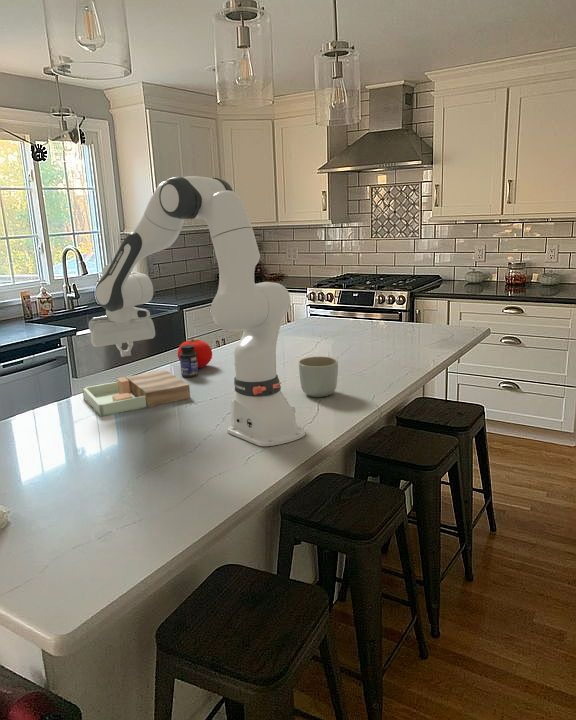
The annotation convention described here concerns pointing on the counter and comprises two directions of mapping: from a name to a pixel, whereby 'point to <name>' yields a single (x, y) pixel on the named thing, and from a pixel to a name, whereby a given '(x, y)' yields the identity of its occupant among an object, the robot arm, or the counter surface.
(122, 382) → the tile
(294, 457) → the counter surface
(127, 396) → the tile
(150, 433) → the counter surface
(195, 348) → the tomato
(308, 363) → the planter
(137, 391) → the board
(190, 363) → the pill bottle
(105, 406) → the tray
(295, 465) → the counter surface
